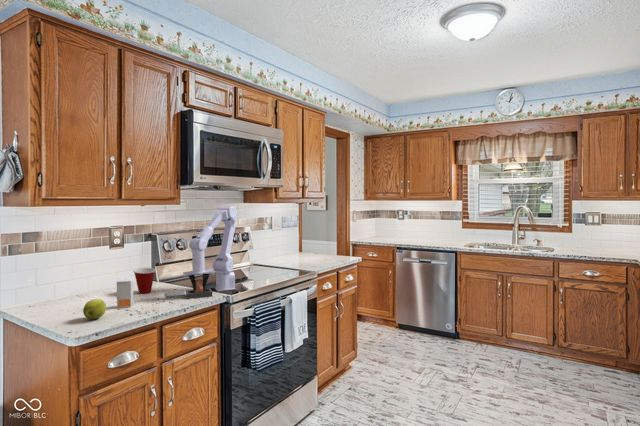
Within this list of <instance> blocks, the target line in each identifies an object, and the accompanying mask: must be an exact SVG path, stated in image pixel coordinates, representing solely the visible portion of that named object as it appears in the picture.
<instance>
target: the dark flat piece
mask: <svg viewBox="0 0 640 426" xmlns="http://www.w3.org/2000/svg"><path fill="white" fill-rule="evenodd" d="M185 294H186V296H185V297H186V298H187V299H188V300H192V299H201V298H211V297H213V290H212V289H211V288H205V290H203V292H198V293H195V291H194V290H193V289H192V290H191V289H190V290H186V291H185Z"/></svg>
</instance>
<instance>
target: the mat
mask: <svg viewBox="0 0 640 426" xmlns="http://www.w3.org/2000/svg"><path fill="white" fill-rule="evenodd" d="M164 294H165V297H166V299H167V298H168V299H169V298H177V297H178V298H180V297H187V296H186V292H185V291H184V290H181V291H180V290H177V291H168V292H164Z"/></svg>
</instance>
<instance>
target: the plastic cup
mask: <svg viewBox="0 0 640 426" xmlns="http://www.w3.org/2000/svg"><path fill="white" fill-rule="evenodd" d="M156 271H157V269H155V268H151V267H140V268H135V269H133V273H134V276H135V282H136V286H137V290H138V293H139V294H141V295H145V294H150V293H152V288H153V282H154V276H155V273H156Z"/></svg>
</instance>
